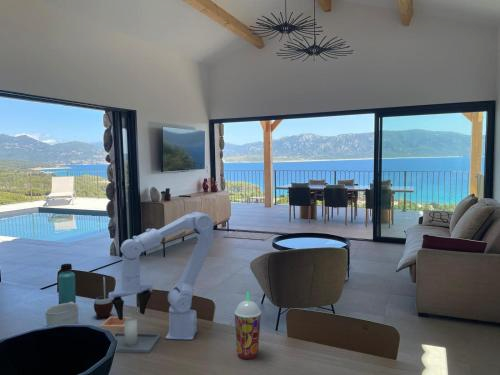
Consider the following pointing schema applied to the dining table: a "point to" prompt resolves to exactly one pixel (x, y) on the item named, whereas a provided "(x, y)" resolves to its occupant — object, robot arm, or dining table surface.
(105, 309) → the mate gourd
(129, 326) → the peg
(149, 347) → the tray
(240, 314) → the smoothie
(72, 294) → the beverage bottle
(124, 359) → the dining table surface
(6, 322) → the dining table surface
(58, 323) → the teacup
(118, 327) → the shallow square box
